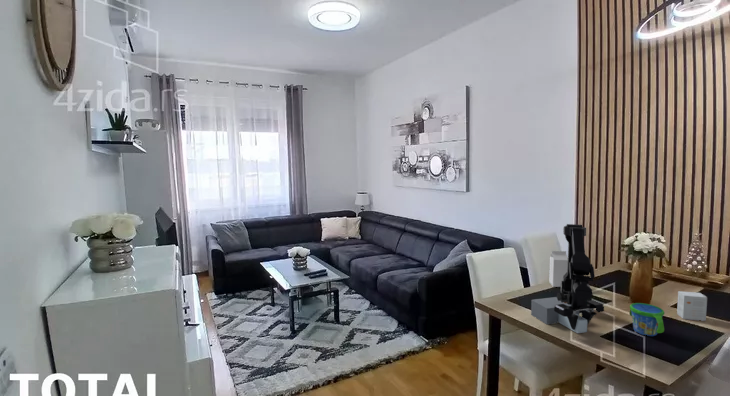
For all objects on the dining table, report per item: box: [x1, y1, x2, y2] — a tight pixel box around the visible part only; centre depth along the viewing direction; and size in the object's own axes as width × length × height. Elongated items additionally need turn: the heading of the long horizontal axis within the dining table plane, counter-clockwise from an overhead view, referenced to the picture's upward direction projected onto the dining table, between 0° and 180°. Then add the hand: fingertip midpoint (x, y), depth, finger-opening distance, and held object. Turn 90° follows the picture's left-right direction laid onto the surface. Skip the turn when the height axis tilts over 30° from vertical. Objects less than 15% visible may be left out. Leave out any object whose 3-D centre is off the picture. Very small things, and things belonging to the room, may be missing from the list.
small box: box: [676, 290, 708, 322], centre depth 156 cm, size 8×6×10 cm
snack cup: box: [629, 302, 665, 337], centre depth 144 cm, size 16×10×10 cm
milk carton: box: [548, 250, 568, 288], centre depth 199 cm, size 7×7×19 cm
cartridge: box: [558, 313, 588, 334], centre depth 154 cm, size 4×19×5 cm, turn 12°
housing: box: [530, 296, 581, 325], centre depth 159 cm, size 16×10×7 cm, turn 102°
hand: (578, 328), depth 147 cm, fingers closed on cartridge, 4 cm apart
